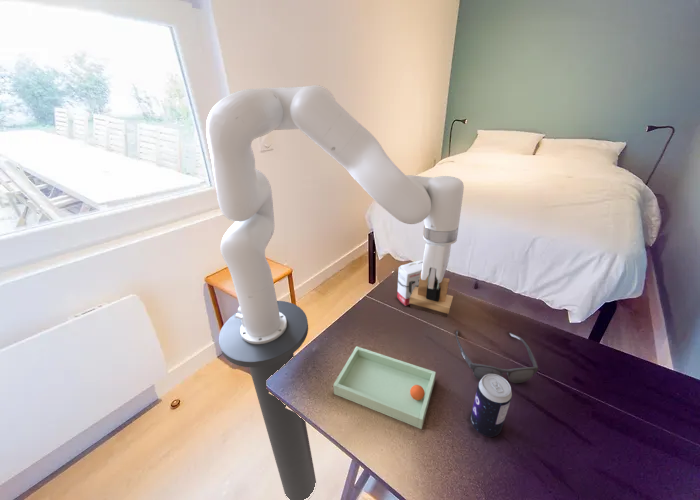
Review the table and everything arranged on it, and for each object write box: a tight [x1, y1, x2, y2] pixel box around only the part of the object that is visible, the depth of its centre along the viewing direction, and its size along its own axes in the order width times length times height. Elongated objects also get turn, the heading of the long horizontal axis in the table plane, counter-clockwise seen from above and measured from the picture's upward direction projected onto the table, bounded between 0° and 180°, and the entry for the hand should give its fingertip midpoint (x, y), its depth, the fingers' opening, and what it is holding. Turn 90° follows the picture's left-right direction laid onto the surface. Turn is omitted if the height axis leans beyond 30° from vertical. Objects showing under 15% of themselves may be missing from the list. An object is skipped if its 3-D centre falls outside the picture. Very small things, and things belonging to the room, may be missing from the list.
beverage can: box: [470, 374, 513, 438], centre depth 59 cm, size 6×6×12 cm
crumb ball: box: [410, 385, 425, 400], centre depth 67 cm, size 3×3×3 cm
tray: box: [333, 345, 437, 430], centre depth 70 cm, size 20×12×3 cm, turn 65°
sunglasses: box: [455, 330, 539, 384], centre depth 76 cm, size 16×17×5 cm
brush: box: [409, 274, 454, 318], centre depth 80 cm, size 10×5×10 cm, turn 65°
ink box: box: [396, 259, 423, 307], centre depth 95 cm, size 9×5×12 cm, turn 114°
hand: (433, 296), depth 80 cm, fingers closed on brush
